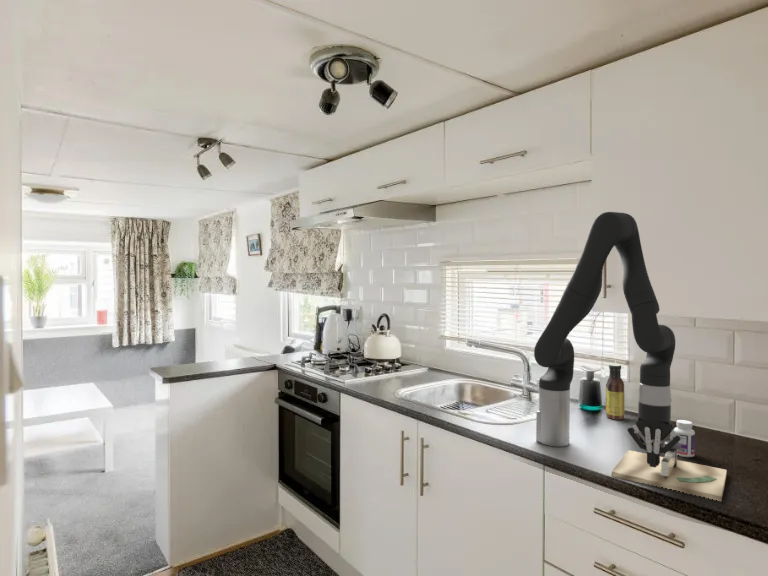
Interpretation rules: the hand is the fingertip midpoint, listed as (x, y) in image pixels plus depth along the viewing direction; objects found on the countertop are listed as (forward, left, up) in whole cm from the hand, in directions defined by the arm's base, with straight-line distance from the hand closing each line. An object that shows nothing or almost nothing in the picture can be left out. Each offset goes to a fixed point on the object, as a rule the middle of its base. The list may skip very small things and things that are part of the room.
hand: (653, 466), depth 132 cm
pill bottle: (+4, +23, -3) cm, 24 cm away
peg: (+3, +2, -1) cm, 4 cm away
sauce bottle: (-21, +50, -3) cm, 54 cm away
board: (+3, +3, -3) cm, 5 cm away
